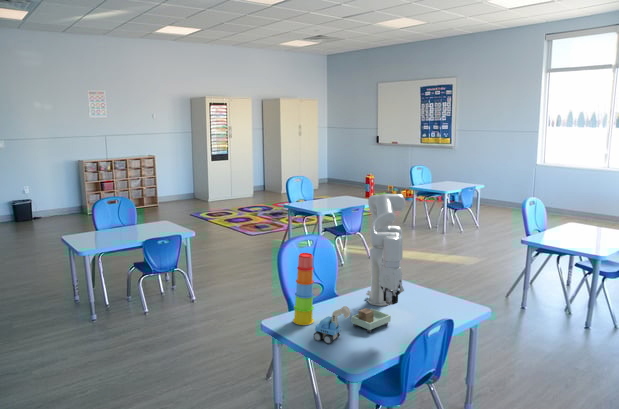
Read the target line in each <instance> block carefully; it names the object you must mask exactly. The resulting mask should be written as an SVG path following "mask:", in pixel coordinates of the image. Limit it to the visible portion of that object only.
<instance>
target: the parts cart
mask: <svg viewBox="0 0 619 409" xmlns="http://www.w3.org/2000/svg"><path fill="white" fill-rule="evenodd" d="M369 309H370V310H372V311H374V316H373V322H371V323H368V322H366V321H363V320H361V319H359V313H356V314H354V315H352V316H351V315H350V316H351V318H350V323H352V324H353V327H356V328H357V327H358V326H359V327H362V328H364V329H366V332H368V333H370V334H371V333H372V332H373V331H372V330H373V329H375V328H376V329H377V328H378V327H381V326H388V325H389V323H391V319H392V318H391V317H392V316H391V314H387V313H386V312H383V311H380V310H377V309H375V308H369Z"/></svg>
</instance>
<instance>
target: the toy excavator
mask: <svg viewBox="0 0 619 409" xmlns="http://www.w3.org/2000/svg"><path fill="white" fill-rule="evenodd" d="M341 315H343V317H344V319H347V318H349V317H350V316H351V309H350V307H348V306H346V305H344V306H342V307H340V309H337V310H334V311H333V312H332V314H331V316H326V317H324V318H323V319H322V320H320V321H319V322H318V323H317V324H316V325H315V326H314V330H315V332H314V333H313V339H314V340H315V341H321V340H323V342H324V343H326V344H327V345H330V344H332V343H333V342H334V340H336V339H337V338H339V337H340V336H341V334H340V333H341V330H342V329H341V326H340V322H339V321H338V316H341Z"/></svg>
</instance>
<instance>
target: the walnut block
mask: <svg viewBox="0 0 619 409" xmlns="http://www.w3.org/2000/svg"><path fill="white" fill-rule="evenodd" d="M370 309H371V308H368V307H367V308H366V307H365V308H362V309H360V310H358V314H359V319H361V320H363V321H366V322H368V323H371V322H373V316H374V311H372V310H370Z"/></svg>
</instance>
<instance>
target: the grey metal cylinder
mask: <svg viewBox="0 0 619 409" xmlns="http://www.w3.org/2000/svg"><path fill="white" fill-rule="evenodd" d="M392 296H394V295H393V290H390V289H386V304H389V305H393V306H394V304H392ZM389 305H388V306H389Z"/></svg>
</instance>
